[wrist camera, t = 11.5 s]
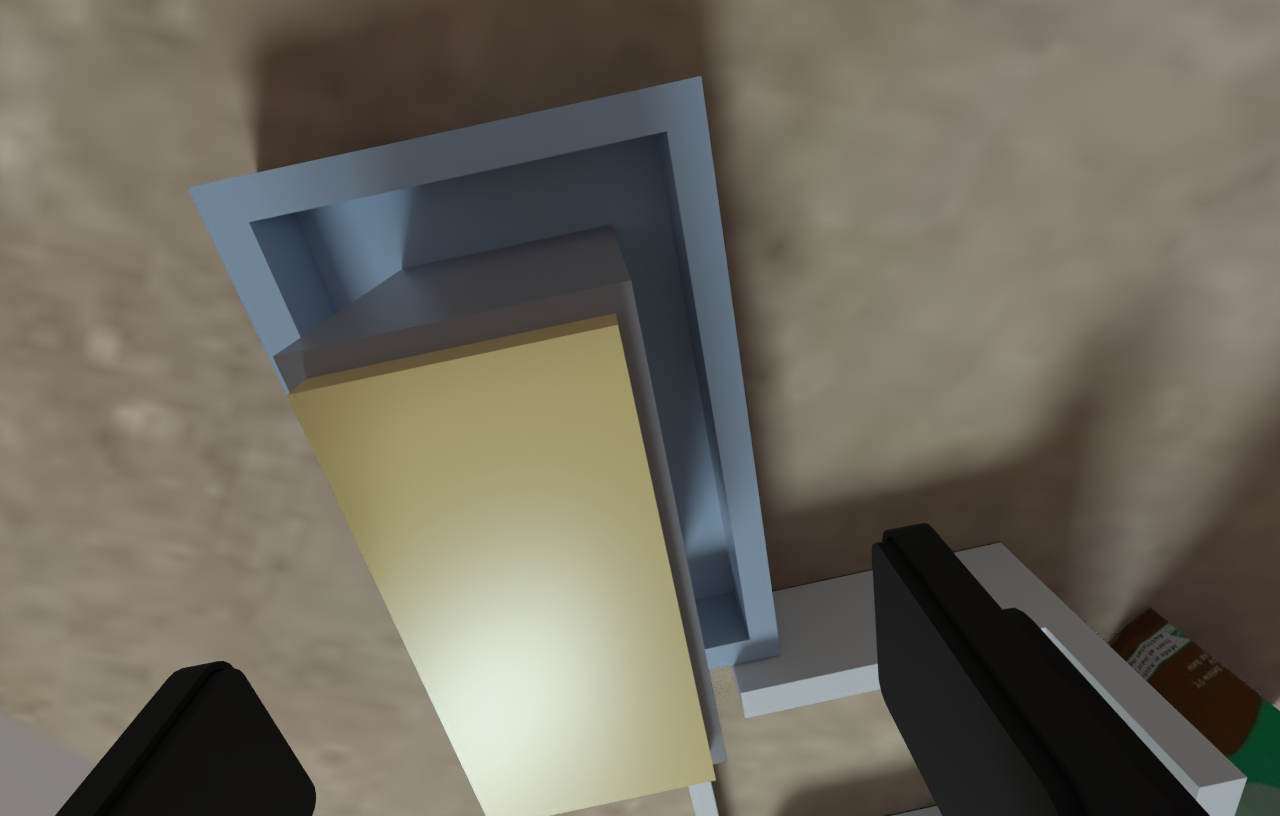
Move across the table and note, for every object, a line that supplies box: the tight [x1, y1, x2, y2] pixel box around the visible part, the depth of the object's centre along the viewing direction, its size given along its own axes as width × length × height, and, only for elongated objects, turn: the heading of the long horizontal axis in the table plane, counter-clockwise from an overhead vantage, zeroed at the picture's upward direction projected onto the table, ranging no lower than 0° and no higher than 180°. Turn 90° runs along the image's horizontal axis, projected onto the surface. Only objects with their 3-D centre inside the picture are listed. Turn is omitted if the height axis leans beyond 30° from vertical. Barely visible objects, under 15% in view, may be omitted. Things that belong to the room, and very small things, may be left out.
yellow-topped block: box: [273, 224, 727, 816], centre depth 13 cm, size 5×10×7 cm, turn 11°
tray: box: [188, 76, 781, 670], centre depth 15 cm, size 10×15×3 cm, turn 11°
